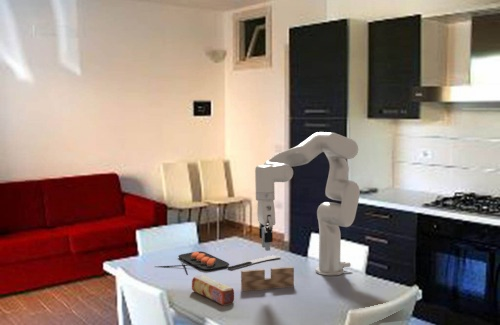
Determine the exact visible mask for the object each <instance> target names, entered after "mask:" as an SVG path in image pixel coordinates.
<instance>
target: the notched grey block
mask: <svg viewBox="0 0 500 325" xmlns="http://www.w3.org/2000/svg"><path fill="white" fill-rule="evenodd" d="M264 233H265V227H262V238H261V247H262V249H264V250H265V251H266V252H267V251H271V242H268V243H265V240H264Z"/></svg>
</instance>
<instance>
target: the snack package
mask: <svg viewBox="0 0 500 325" xmlns="http://www.w3.org/2000/svg"><path fill="white" fill-rule="evenodd" d="M191 290H192V292H194V293H197V294H199V295H201V296H203V297H205V298H208V299H210V300H211V301H213V302H216V303H217V304H220V305H221V306H228V305H231V304H233V302H235V301H234V300H235V290H234V288H233V287H230V286H228V285H227V284H224V283H221V282H219V281H217V280H214V279H212V278H210V277H208V276H206V275H204V274H198V275H195V276H193V278H192V279H191Z"/></svg>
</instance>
